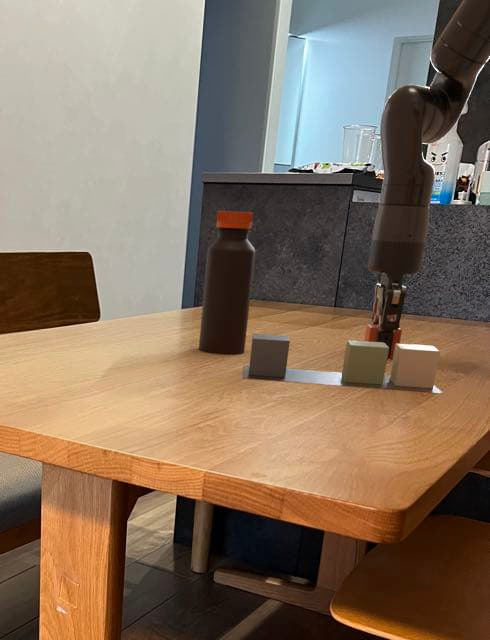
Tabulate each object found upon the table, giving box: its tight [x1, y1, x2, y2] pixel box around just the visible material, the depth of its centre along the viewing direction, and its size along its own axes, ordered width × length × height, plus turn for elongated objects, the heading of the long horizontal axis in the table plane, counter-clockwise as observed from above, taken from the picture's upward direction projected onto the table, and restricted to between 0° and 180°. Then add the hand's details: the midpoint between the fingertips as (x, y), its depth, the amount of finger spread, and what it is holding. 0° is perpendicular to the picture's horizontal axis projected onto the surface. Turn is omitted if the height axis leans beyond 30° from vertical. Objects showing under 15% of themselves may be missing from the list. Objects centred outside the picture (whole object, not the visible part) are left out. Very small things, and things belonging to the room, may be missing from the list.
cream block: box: [389, 343, 441, 389], centre depth 108 cm, size 5×5×5 cm
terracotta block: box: [363, 323, 403, 359], centre depth 132 cm, size 5×5×5 cm
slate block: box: [248, 333, 291, 378], centre depth 110 cm, size 5×5×5 cm
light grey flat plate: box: [242, 365, 444, 395], centre depth 110 cm, size 24×10×1 cm, turn 79°
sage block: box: [342, 339, 389, 385], centre depth 109 cm, size 5×5×5 cm
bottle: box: [198, 210, 256, 356], centre depth 125 cm, size 7×7×20 cm
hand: (379, 354), depth 132 cm, fingers open, 5 cm apart
